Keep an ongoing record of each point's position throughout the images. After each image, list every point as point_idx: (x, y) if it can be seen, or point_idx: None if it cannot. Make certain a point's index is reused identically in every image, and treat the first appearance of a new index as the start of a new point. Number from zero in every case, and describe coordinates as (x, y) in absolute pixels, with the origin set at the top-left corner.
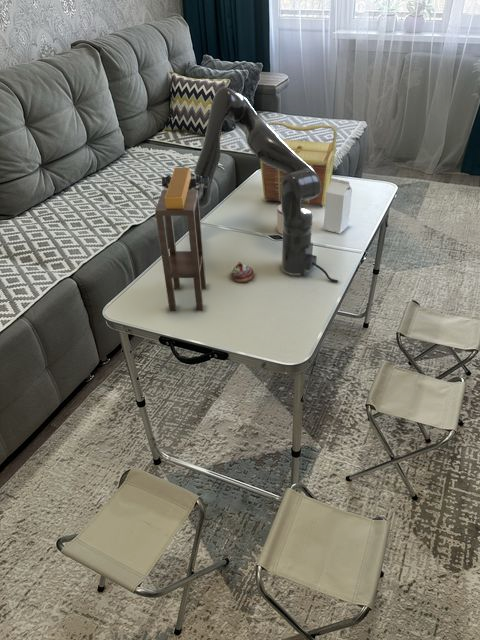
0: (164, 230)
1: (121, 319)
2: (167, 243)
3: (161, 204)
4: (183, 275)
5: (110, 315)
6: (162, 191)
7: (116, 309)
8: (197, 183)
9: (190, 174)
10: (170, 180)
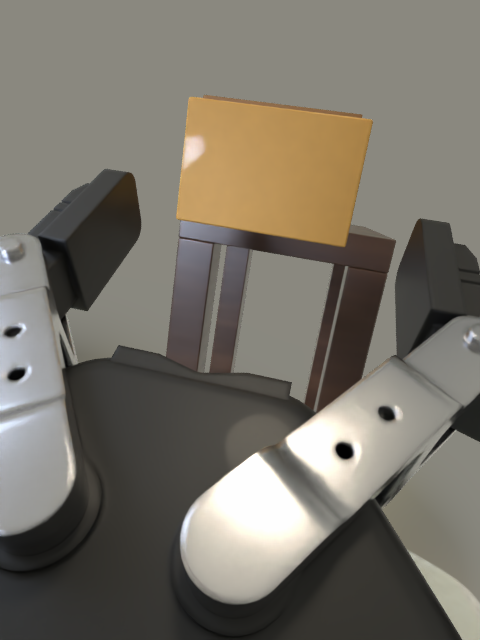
0: (326, 294)
1: (425, 566)
2: (314, 354)
3: (353, 226)
4: None
5: (470, 594)
6: (387, 237)
7: (468, 621)
8: (110, 271)
9: (186, 175)
10: (406, 293)
